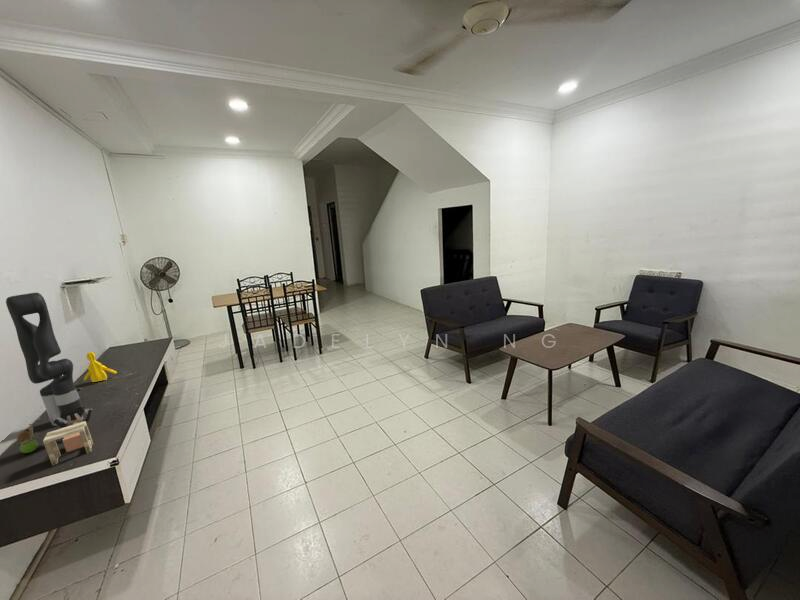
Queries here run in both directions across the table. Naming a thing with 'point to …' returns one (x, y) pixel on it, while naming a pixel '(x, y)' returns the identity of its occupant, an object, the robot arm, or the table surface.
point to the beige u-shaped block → (63, 432)
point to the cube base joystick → (73, 440)
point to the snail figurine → (27, 441)
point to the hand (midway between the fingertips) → (79, 432)
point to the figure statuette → (96, 369)
